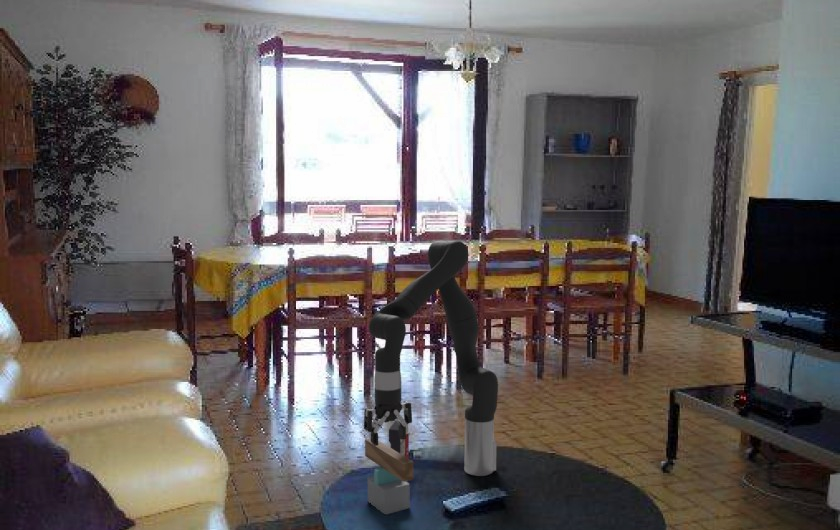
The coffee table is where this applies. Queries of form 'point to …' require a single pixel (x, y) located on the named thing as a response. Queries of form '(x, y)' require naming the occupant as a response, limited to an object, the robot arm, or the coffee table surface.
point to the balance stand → (388, 492)
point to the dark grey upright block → (399, 440)
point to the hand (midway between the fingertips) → (388, 441)
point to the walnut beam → (389, 460)
